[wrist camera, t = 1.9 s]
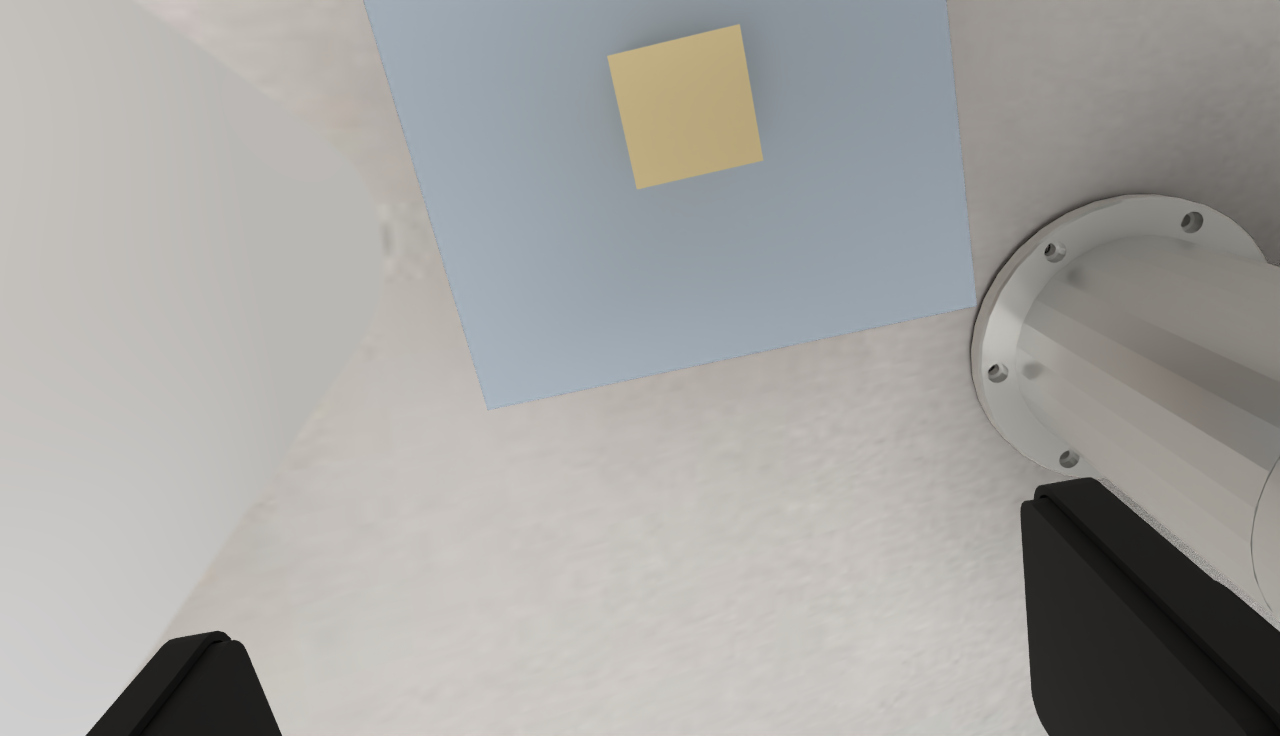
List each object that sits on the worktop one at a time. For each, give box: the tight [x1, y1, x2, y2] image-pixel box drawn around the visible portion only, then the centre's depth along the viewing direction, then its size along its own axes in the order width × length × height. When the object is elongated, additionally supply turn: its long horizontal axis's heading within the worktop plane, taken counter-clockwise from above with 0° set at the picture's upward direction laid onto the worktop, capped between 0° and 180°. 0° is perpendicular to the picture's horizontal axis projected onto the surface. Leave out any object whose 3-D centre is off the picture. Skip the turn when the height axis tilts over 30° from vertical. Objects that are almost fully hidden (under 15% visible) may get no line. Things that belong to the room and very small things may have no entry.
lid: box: [363, 0, 977, 410], centre depth 23 cm, size 17×17×7 cm
